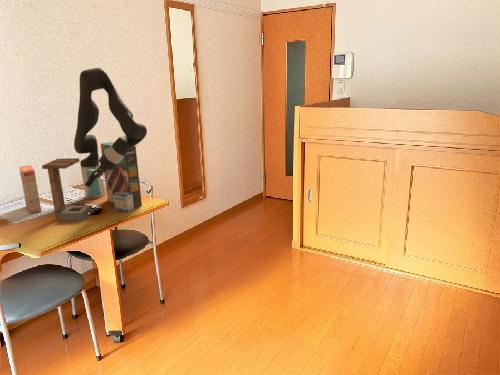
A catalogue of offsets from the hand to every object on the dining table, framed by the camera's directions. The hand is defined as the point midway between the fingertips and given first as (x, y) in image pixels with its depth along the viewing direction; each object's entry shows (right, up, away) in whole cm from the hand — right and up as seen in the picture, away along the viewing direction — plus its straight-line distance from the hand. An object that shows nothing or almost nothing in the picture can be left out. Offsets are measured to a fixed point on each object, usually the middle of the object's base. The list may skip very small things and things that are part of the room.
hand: (88, 184), depth 177 cm
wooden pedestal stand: (-11, -15, +4) cm, 19 cm away
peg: (+2, -4, +1) cm, 5 cm away
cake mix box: (+8, -10, +24) cm, 27 cm away
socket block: (-8, -15, +4) cm, 18 cm away
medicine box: (+12, -13, +14) cm, 22 cm away
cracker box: (-35, -12, +18) cm, 41 cm away
